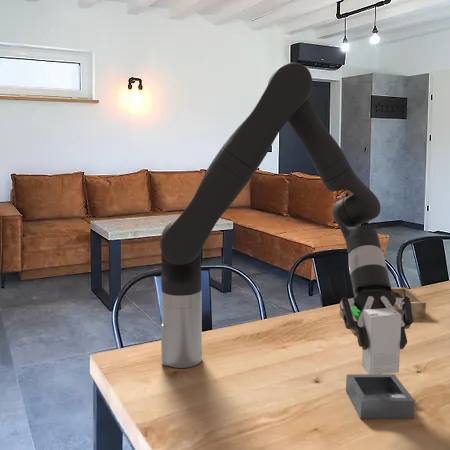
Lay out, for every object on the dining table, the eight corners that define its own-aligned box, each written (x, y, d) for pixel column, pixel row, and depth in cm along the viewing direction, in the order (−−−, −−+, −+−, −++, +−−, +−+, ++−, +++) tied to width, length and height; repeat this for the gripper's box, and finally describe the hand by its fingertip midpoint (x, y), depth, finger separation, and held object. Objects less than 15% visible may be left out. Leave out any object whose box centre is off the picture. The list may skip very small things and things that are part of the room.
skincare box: (389, 364, 103) (392, 306, 101) (400, 374, 99) (403, 314, 97) (360, 366, 102) (362, 308, 100) (369, 376, 98) (372, 316, 96)
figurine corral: (381, 317, 151) (381, 303, 150) (365, 301, 167) (366, 287, 166) (425, 317, 151) (426, 302, 150) (405, 300, 167) (406, 287, 166)
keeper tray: (360, 419, 96) (361, 401, 95) (345, 390, 107) (346, 374, 106) (413, 418, 96) (414, 400, 95) (393, 390, 107) (394, 374, 106)
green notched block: (368, 331, 141) (369, 315, 140) (354, 331, 141) (355, 315, 140) (357, 317, 152) (358, 302, 151) (344, 317, 152) (345, 302, 151)
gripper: (337, 263, 104) (350, 340, 95) (408, 262, 104) (427, 340, 95) (331, 281, 110) (342, 356, 101) (397, 280, 111) (415, 355, 101)
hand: (383, 347), depth 98 cm, fingers closed on skincare box, 6 cm apart
